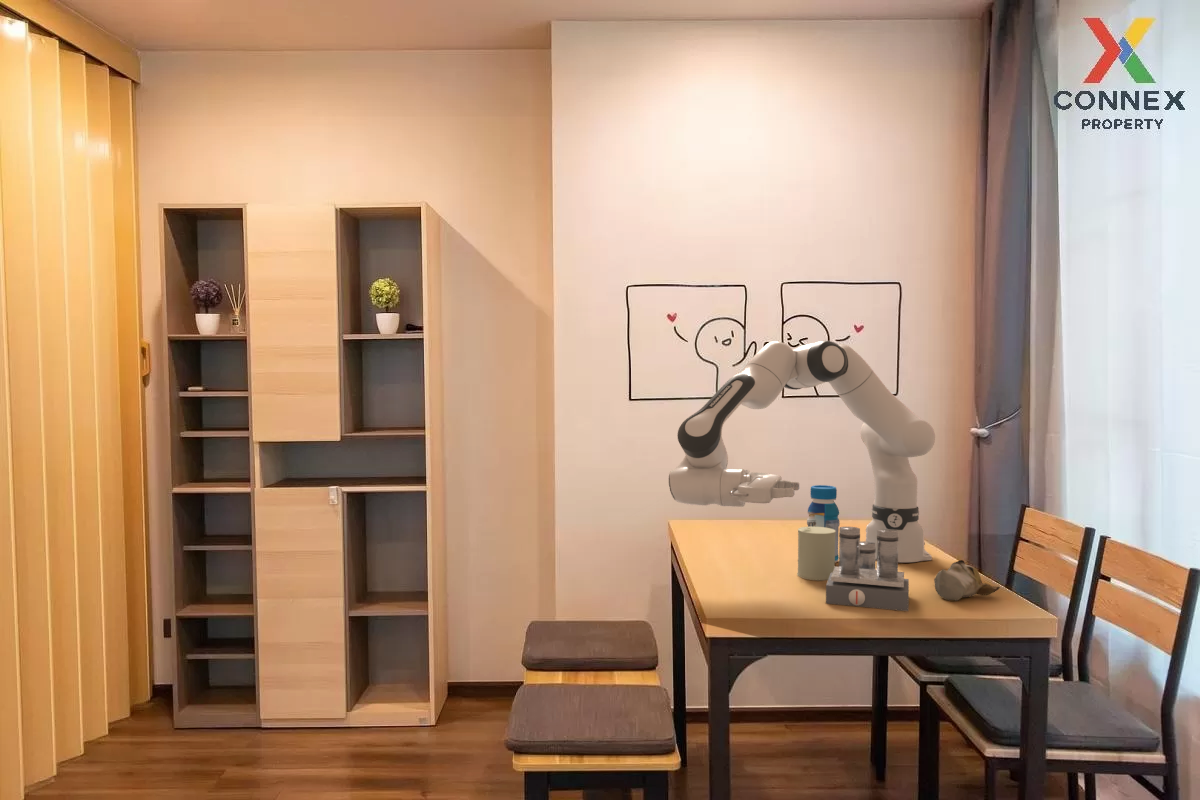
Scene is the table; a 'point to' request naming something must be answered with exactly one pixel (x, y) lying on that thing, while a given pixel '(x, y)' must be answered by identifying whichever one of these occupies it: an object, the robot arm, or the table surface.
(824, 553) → the can
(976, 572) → the ceramic sculpture
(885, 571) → the cylinder
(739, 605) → the table surface
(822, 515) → the beverage bottle
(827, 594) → the scale body
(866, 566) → the cylinder
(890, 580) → the scale pan
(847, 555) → the cylinder
